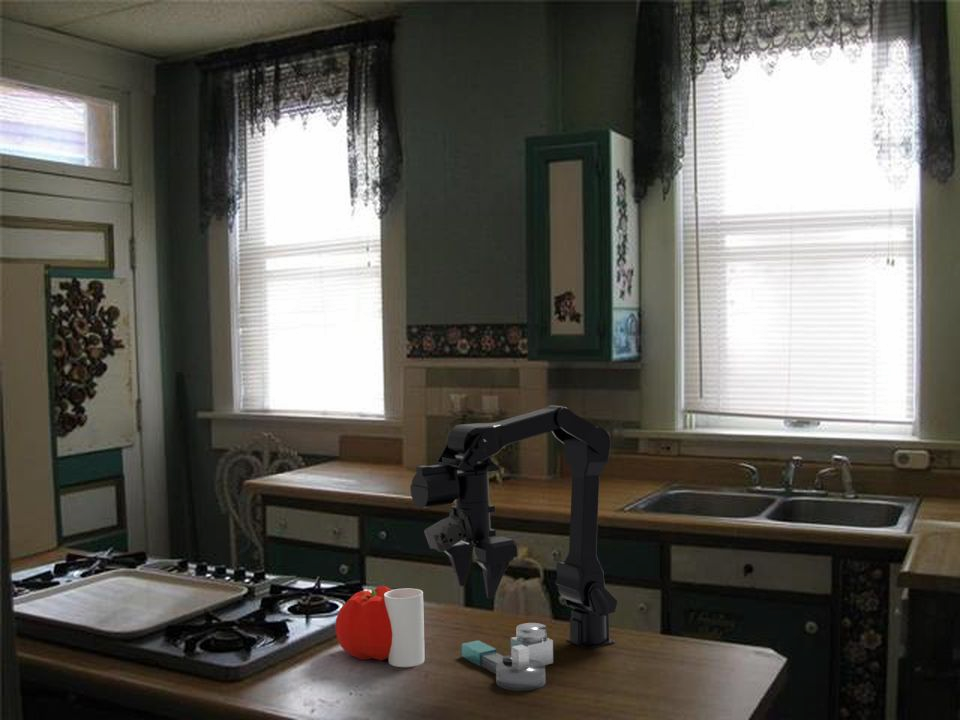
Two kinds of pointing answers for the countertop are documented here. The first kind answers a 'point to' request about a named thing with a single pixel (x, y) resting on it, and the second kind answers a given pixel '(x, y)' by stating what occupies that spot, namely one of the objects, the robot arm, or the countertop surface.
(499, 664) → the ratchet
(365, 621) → the tomato
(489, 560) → the robot arm
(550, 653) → the cylinder with square end
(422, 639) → the mug
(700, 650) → the countertop surface
